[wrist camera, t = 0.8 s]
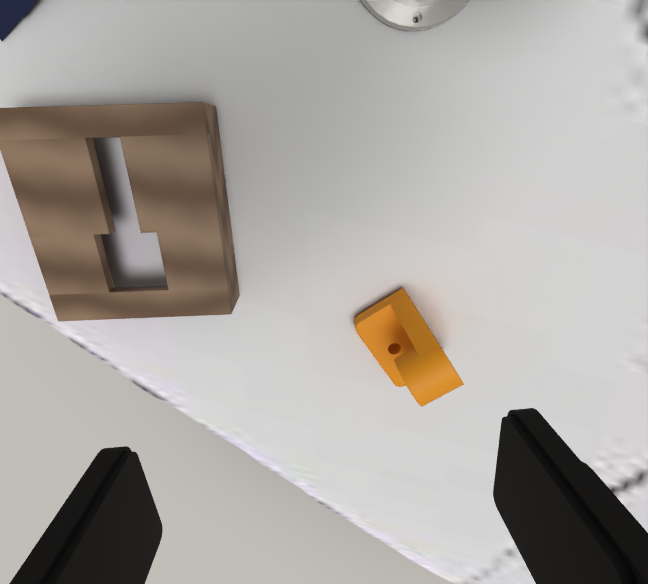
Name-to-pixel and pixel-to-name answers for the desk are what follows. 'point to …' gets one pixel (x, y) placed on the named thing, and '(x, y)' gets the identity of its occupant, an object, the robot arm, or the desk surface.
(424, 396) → the bracket
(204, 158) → the keyhole board
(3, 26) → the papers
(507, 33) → the desk surface
